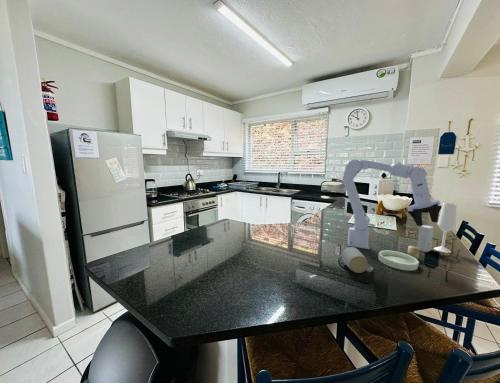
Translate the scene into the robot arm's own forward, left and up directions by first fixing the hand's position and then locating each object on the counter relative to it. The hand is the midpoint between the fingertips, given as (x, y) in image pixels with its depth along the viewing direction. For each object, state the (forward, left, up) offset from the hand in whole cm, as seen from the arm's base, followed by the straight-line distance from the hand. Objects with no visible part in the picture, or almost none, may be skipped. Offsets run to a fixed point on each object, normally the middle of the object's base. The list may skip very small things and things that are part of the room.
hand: (427, 223), depth 95 cm
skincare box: (+5, +14, -16) cm, 22 cm away
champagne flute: (+14, +18, -16) cm, 28 cm away
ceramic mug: (-29, -24, -17) cm, 41 cm away
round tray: (-12, -10, -16) cm, 23 cm away
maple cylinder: (-4, -1, -16) cm, 17 cm away
